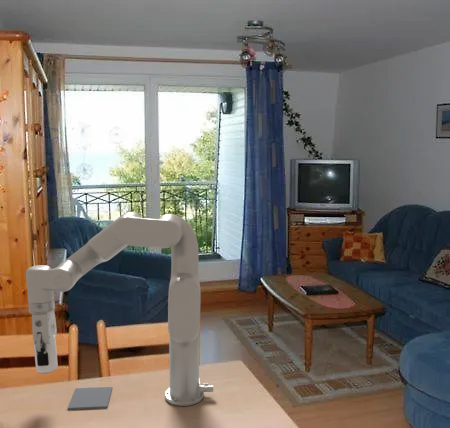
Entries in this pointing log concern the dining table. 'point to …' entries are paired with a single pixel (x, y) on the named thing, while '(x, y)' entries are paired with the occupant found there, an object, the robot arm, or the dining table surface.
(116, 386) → the dining table surface
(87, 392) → the mat
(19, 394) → the dining table surface
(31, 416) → the dining table surface
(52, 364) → the can
